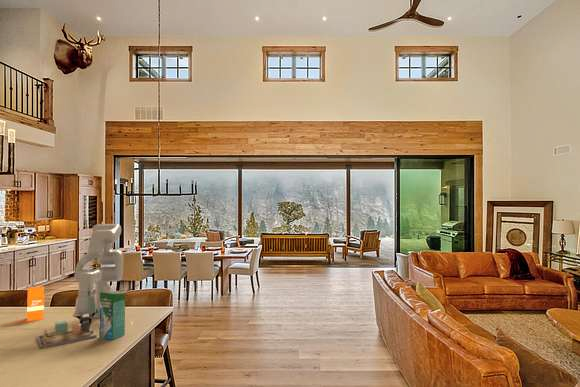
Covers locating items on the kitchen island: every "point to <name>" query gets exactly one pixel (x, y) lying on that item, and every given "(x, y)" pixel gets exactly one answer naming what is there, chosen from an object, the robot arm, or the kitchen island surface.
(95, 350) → the kitchen island surface
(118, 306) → the milk carton
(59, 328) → the teal cube
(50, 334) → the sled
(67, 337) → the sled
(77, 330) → the rounded peach cylinder
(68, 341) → the lane frame
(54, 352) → the kitchen island surface
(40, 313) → the orange juice
